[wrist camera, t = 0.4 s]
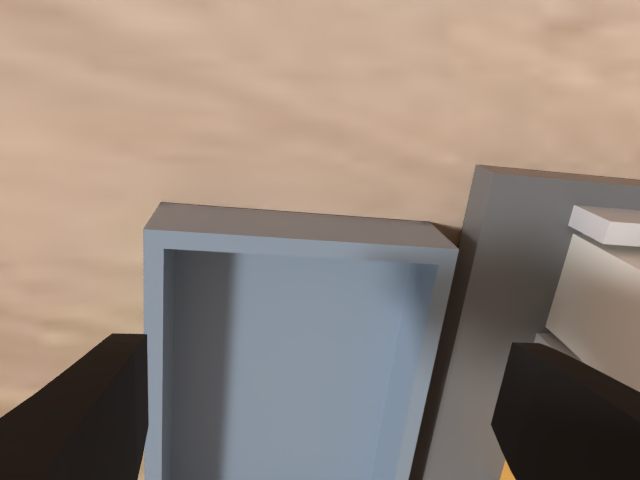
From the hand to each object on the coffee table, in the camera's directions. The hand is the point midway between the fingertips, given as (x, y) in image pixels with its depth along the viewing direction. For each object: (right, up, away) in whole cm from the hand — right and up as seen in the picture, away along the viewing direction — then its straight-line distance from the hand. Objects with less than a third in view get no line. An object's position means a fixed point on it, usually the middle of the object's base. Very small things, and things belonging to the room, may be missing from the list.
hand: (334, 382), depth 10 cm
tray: (-2, -3, +12) cm, 12 cm away
